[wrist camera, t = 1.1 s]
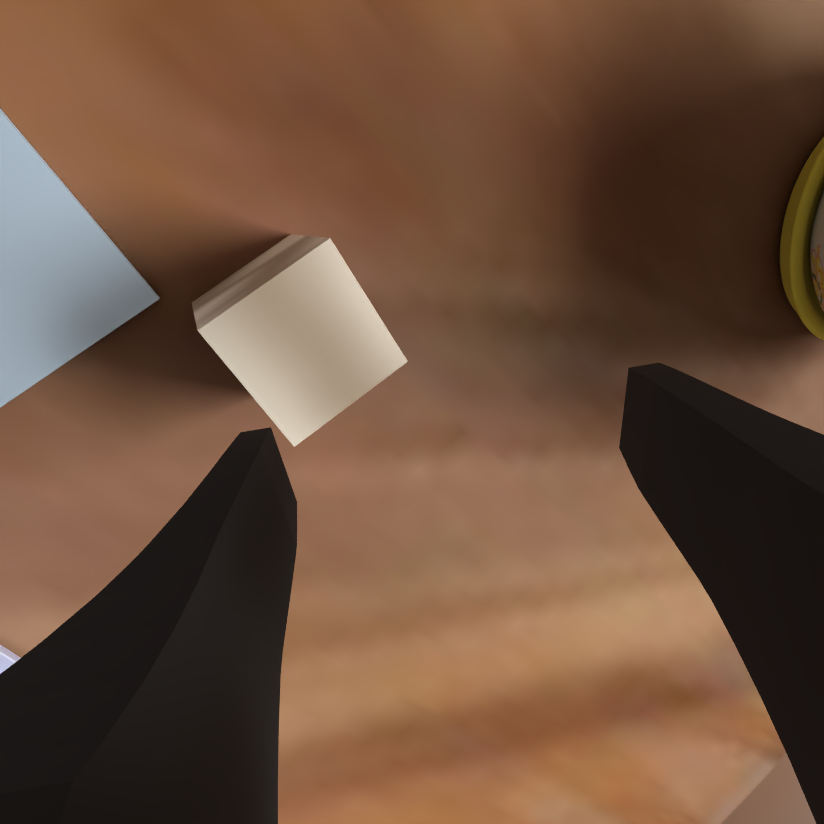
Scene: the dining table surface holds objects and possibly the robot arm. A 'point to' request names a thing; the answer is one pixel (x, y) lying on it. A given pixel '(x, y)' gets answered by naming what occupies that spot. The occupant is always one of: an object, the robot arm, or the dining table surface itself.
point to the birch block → (298, 333)
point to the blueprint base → (53, 271)
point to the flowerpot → (806, 244)
